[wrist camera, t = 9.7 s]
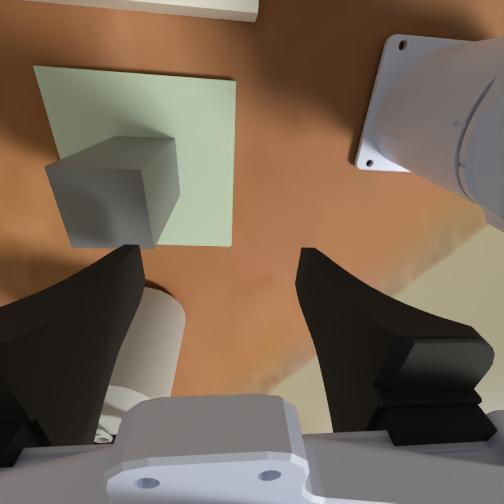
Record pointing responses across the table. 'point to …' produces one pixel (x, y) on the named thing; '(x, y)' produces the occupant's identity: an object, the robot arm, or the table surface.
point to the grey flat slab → (177, 7)
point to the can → (143, 360)
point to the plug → (117, 191)
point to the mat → (156, 135)
